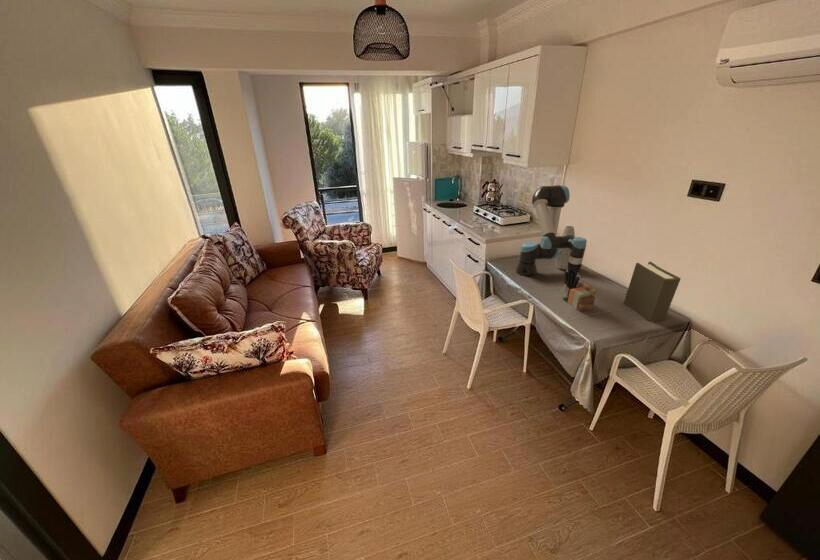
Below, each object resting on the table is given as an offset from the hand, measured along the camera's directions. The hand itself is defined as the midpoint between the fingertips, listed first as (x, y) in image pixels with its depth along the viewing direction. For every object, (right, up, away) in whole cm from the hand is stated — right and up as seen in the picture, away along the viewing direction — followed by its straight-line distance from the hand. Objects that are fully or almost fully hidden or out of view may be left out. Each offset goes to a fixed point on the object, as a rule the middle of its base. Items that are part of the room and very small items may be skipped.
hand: (567, 295), depth 212 cm
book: (+38, -9, -17) cm, 42 cm away
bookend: (+1, -3, -1) cm, 3 cm away
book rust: (+2, -5, -5) cm, 7 cm away
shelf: (+2, -3, -1) cm, 4 cm away
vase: (+17, +20, +45) cm, 52 cm away
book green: (+3, -6, -8) cm, 11 cm away
